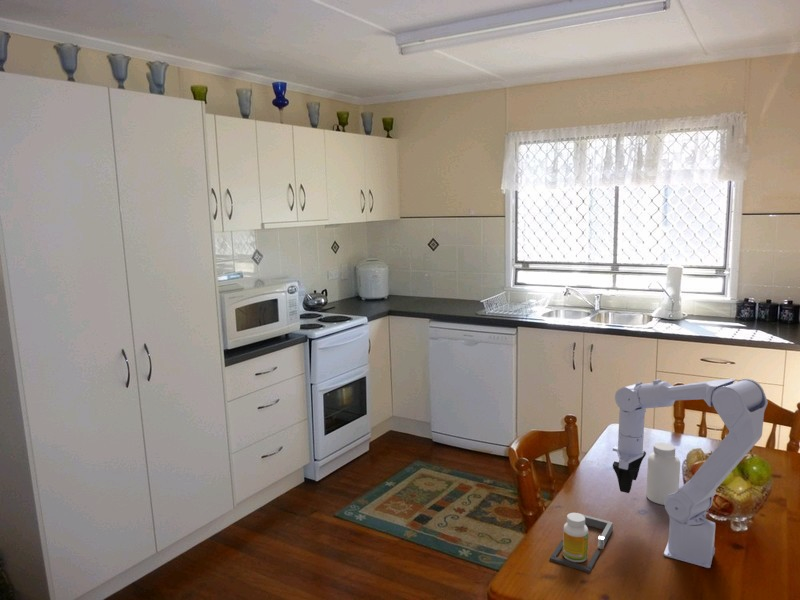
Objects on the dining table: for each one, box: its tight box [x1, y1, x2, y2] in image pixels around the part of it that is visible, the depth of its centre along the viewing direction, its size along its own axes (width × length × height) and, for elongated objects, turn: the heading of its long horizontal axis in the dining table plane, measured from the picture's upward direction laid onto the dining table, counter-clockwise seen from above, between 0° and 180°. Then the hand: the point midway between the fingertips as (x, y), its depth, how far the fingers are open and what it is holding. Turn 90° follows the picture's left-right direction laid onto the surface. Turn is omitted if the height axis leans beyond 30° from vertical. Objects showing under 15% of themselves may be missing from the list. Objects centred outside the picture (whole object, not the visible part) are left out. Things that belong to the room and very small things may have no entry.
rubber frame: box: [549, 539, 601, 574], centre depth 137 cm, size 9×8×1 cm
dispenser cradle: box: [581, 513, 614, 550], centre depth 146 cm, size 9×10×2 cm
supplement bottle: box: [562, 512, 589, 563], centre depth 137 cm, size 5×5×10 cm
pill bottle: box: [645, 442, 681, 506], centre depth 161 cm, size 8×8×15 cm
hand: (628, 485), depth 149 cm, fingers open, 7 cm apart
